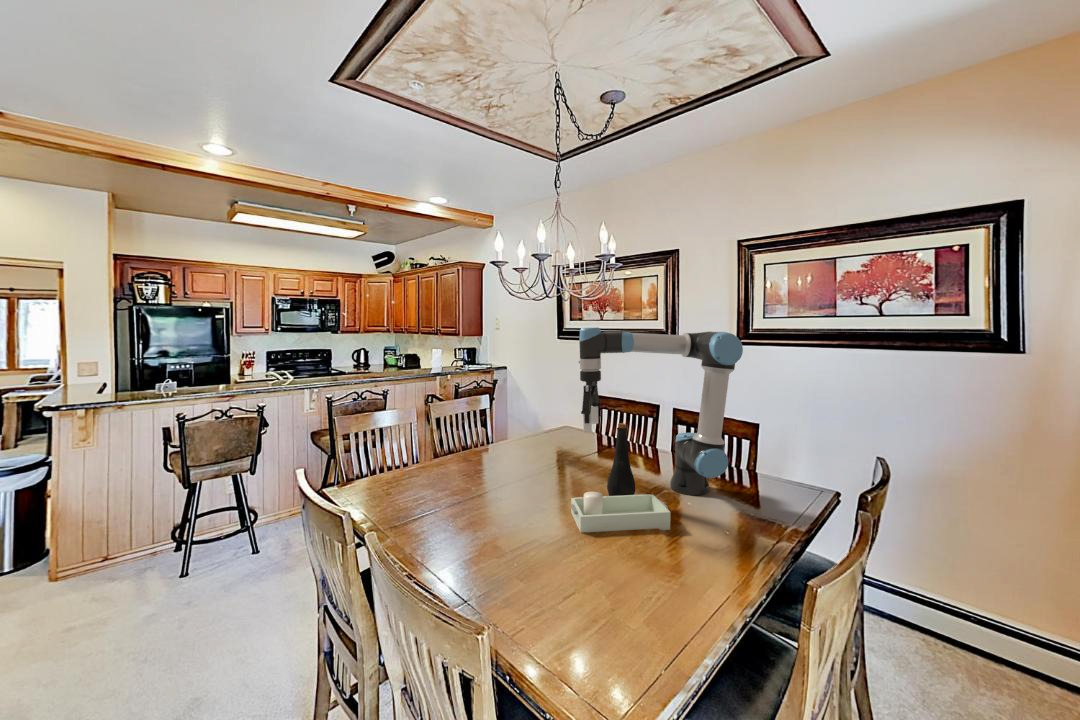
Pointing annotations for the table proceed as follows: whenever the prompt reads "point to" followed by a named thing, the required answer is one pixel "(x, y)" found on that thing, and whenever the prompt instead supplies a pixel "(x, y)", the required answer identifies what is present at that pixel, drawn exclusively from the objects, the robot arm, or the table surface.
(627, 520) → the tote
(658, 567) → the table surface
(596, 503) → the cream capsule cylinder
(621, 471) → the bottle
